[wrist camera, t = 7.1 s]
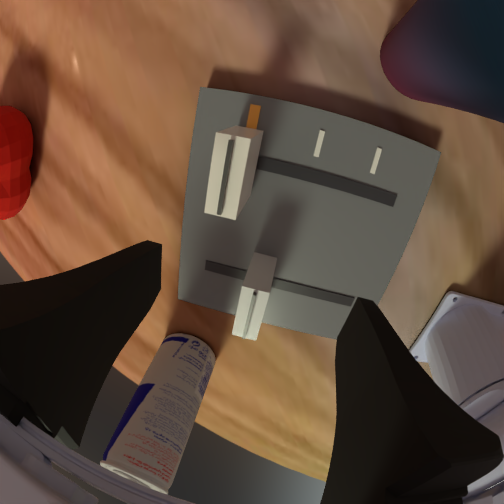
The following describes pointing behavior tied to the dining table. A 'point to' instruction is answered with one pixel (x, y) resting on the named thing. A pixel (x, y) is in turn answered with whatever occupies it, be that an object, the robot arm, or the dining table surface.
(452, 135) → the dining table surface
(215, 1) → the dining table surface
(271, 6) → the dining table surface
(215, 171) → the fader tab
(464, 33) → the cup
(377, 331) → the robot arm
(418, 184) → the console
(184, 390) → the beverage can
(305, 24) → the dining table surface
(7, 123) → the tomato
